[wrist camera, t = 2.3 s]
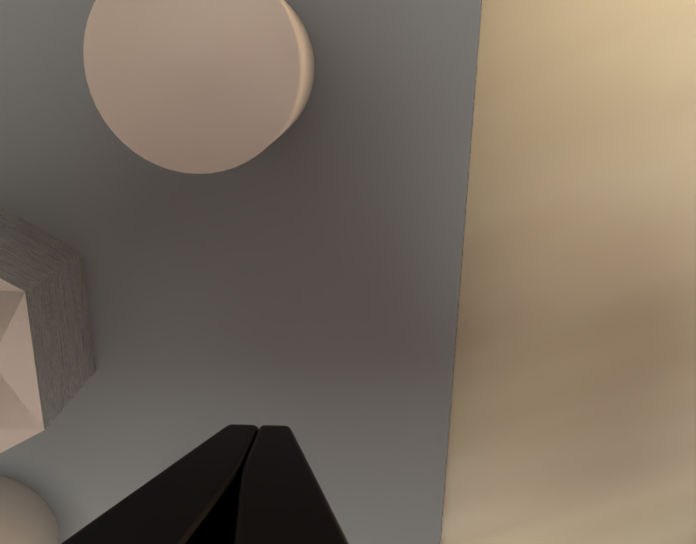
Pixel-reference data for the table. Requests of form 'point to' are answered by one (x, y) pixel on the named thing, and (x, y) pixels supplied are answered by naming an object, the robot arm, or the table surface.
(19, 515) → the spacers
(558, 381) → the table surface
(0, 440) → the star tealight holder
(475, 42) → the slate board
